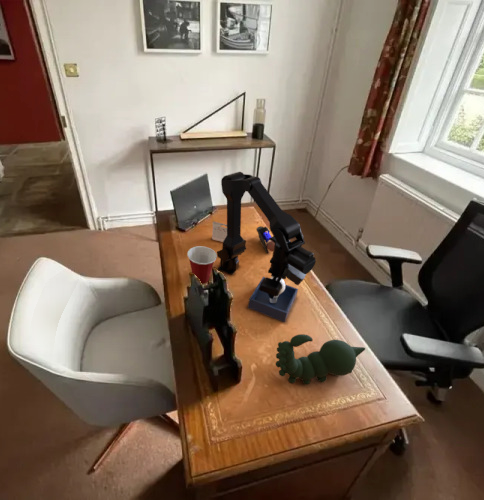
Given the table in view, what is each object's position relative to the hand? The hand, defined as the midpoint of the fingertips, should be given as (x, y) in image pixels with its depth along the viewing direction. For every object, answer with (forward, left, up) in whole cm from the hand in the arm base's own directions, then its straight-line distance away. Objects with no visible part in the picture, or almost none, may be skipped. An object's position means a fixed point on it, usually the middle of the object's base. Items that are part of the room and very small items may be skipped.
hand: (274, 292), depth 109 cm
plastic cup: (-28, -1, -5) cm, 29 cm away
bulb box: (0, 0, -5) cm, 5 cm away
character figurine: (-15, +32, -5) cm, 35 cm away
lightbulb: (0, 0, -5) cm, 5 cm away
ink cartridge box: (-32, +26, -5) cm, 41 cm away
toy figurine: (+20, -20, -5) cm, 29 cm away
